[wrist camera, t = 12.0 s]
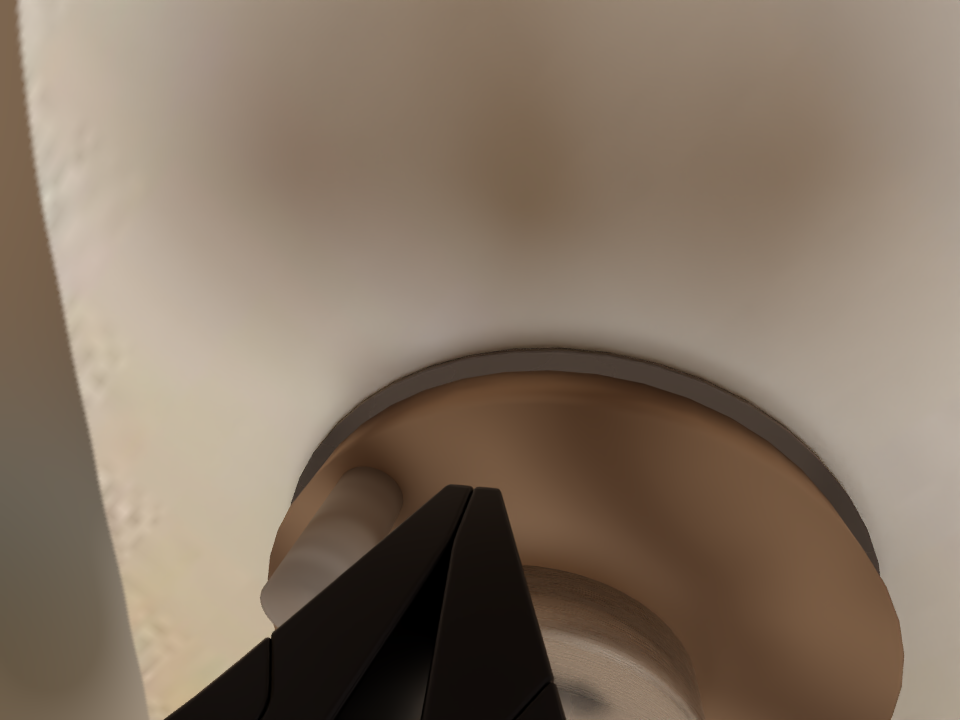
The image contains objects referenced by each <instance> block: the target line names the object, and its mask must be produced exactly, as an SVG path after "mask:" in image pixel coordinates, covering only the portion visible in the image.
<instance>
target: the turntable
mask: <svg viewBox="0 0 960 720" xmlns="http://www.w3.org/2000/svg"><path fill="white" fill-rule="evenodd" d="M449 484H457V485H468V486H471V487H473V489H474V488H476V487H490V488H498V489H500V491H501V493H502V496H503V500H504V503H505V507H506V510H507V514H508V517H509V521H510V524H511V528H512V531H513V535H514V539H515V542H516V546H517V549H518V553H519V556H520V560H521V563H522V565H525V566H538V567H545V568H552V569H558V570H563V571H567V572H571V573H575V574H579V575H582V576H585V577H588V578H591V579H594V580H597V581H599V582H602V583H604V584H606V585H609V586H611V587H613V588H615V589H617V590H619V591H622V592H623V593H625V594H627V595H628V596H630V597H632V598H633V599H635V600H637V601H638V602H640V603H641V604H643V605H644V606H645V607H647V608H648V609H649V610H651V611H652V612H653V613H655V614H656V615H657V616H658V617H659V618H660V619H661V620H662V621H663V622H664V623H666V624H667V625H668V626H669V627H670V628H671V630H672V631H673V632H674V633H675V635H676V636H677V637H678V638H679V640H680V641H681V642H682V644H683V646H684V648H685V649H686V651H687V653H688V655H689V656H690V659H691V662H692V665H693V668H694V670H695V675H696V679H697V684H698V688H699V693H700V697H701V702H702V706H703V711H704V715H705V720H890V719H891V718H892V715H893V712H894V709H895V706H896V703H897V700H898V696H899V693H900V690H901V687H902V675H903V662H904V651H903V644H902V637H901V630H900V623H899V619H898V617H897V614H896V611H895V609H894V606H893V603H892V601H891V598H890V595H889V593H888V590H887V587H886V585H885V584H884V582H883V580H882V579H881V577H880V576H879V574H878V572H877V571H876V569H875V567H874V566H873V564H872V562H871V561H870V559H869V558H868V556H867V554H866V553H865V551H864V550H863V548H862V547H861V545H860V544H859V543H858V541H857V540H856V538H855V537H854V536H853V534H852V533H851V531H850V530H849V528H848V527H847V526H846V524H845V523H844V521H843V520H842V518H841V517H840V516H839V514H838V513H837V511H836V510H835V509H834V507H833V506H832V504H831V503H830V501H829V500H828V499H827V498H826V497H825V495H824V494H823V493H822V492H821V491H820V490H819V488H818V487H817V486H816V485H815V484H814V483H813V482H812V480H811V479H810V478H809V477H808V476H807V475H806V474H805V472H804V471H803V470H802V469H801V468H800V467H798V466H797V465H796V464H795V463H794V462H792V461H791V460H790V459H789V458H788V457H787V456H785V455H784V454H783V453H782V452H781V451H779V450H778V449H777V448H776V447H775V446H773V445H772V444H771V443H770V442H769V441H767V440H765V439H764V438H762V437H761V436H759V435H758V434H756V433H754V432H753V431H751V430H750V429H748V428H746V427H745V426H743V425H742V424H740V423H738V422H737V421H735V420H734V419H732V418H730V417H728V416H726V415H724V414H722V413H720V412H717V411H715V410H713V409H711V408H709V407H707V406H705V405H702V404H700V403H698V402H696V401H694V400H692V399H689V398H687V397H684V396H681V395H678V394H675V393H671V392H668V391H665V390H662V389H659V388H656V387H653V386H650V385H647V384H644V383H639V382H634V381H629V380H624V379H619V378H614V377H609V376H604V375H599V374H590V373H577V372H565V371H552V370H544V371H518V372H502V373H495V374H489V375H483V376H477V377H471V378H464V379H460V380H457V381H453V382H450V383H447V384H443V385H440V386H437V387H433V388H430V389H426V390H424V391H421V392H419V393H417V394H415V395H412V396H410V397H408V398H406V399H404V400H401V401H399V402H397V403H395V404H393V405H391V406H389V407H387V408H386V409H384V410H383V411H381V412H380V413H378V414H377V415H375V416H373V417H372V418H370V419H369V420H367V421H366V422H364V423H363V424H361V425H360V426H359V427H358V428H357V429H356V430H355V431H354V432H353V433H351V434H350V435H349V436H348V437H347V438H346V439H345V440H344V441H342V442H341V443H340V444H339V445H338V447H337V448H336V449H335V450H334V452H333V453H332V454H331V455H330V457H329V458H328V459H327V460H326V462H325V463H324V464H323V466H322V467H321V468H320V469H319V471H318V472H317V473H316V474H315V476H314V477H313V478H312V479H311V481H310V482H309V483H308V484H307V486H306V487H305V488H304V489H303V491H302V492H301V493H300V495H299V496H298V497H297V498H296V500H295V501H294V502H293V503H292V505H291V506H290V508H289V510H288V512H287V514H286V516H285V518H284V520H283V522H282V523H281V525H280V527H279V529H278V532H277V535H276V538H275V542H274V545H273V548H272V552H271V555H270V563H269V573H268V582H267V583H266V585H265V586H264V587H263V589H262V591H261V596H260V600H261V605H262V608H263V610H264V612H265V614H266V615H267V617H268V618H269V619H270V620H271V622H272V623H273V624H274V627H275V630H276V629H277V628H278V627H279V626H281V625H282V624H283V623H284V622H285V621H287V620H288V619H289V618H290V617H291V616H292V615H294V614H295V613H296V612H297V611H298V610H300V609H301V608H302V607H303V606H304V605H305V604H307V603H308V602H309V601H310V600H311V599H313V598H314V597H315V596H316V595H317V594H318V593H320V592H321V591H322V590H323V589H324V588H326V587H327V586H328V585H329V584H330V583H331V582H333V581H334V580H335V579H336V578H337V577H339V576H340V575H341V574H342V573H343V572H344V571H346V570H347V569H348V568H349V567H350V566H352V565H353V564H354V563H355V562H356V561H358V560H359V559H360V558H361V557H362V556H363V555H365V554H366V553H367V552H368V551H369V550H371V549H372V548H373V547H374V546H375V545H376V544H378V543H379V542H380V541H381V540H382V539H384V538H385V537H386V536H387V535H388V534H389V533H391V532H392V531H393V530H394V529H395V528H397V527H398V526H399V525H400V524H401V523H402V522H404V521H405V520H406V519H407V518H408V517H410V516H411V515H412V514H413V513H414V512H415V511H417V510H418V509H419V508H420V507H421V506H423V505H424V504H425V503H426V502H427V501H428V500H430V499H431V498H432V497H433V496H434V495H436V494H437V493H438V492H439V491H440V490H442V489H443V488H444V487H445V486H447V485H449Z"/></svg>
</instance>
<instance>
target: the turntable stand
mask: <svg viewBox="0 0 960 720" xmlns="http://www.w3.org/2000/svg"><path fill="white" fill-rule="evenodd" d="M544 370H552V371H565V372H577V373H590V374H599V375H604V376H609V377H614V378H619V379H624V380H629V381H634V382H639V383H644V384H647V385H650V386H653V387H656V388H659V389H662V390H665V391H668V392H671V393H675V394H678V395H681V396H684V397H687V398H689V399H692V400H694V401H696V402H698V403H700V404H702V405H705V406H707V407H709V408H711V409H713V410H715V411H717V412H720V413H722V414H724V415H726V416H728V417H730V418H732V419H734V420H735V421H737V422H738V423H740V424H742V425H743V426H745V427H746V428H748V429H750V430H751V431H753V432H754V433H756V434H758V435H759V436H761V437H762V438H764V439H765V440H767V441H769V442H770V443H771V444H772V445H773V446H775V447H776V448H777V449H778V450H779V451H781V452H782V453H783V454H784V455H785V456H787V457H788V458H789V459H790V460H791V461H792V462H794V463H795V464H796V465H797V466H798V467H800V468H801V469H802V470H803V471H804V472H805V474H806V475H807V476H808V477H809V478H810V479H811V480H812V482H813V483H814V484H815V485H816V486H817V487H818V488H819V490H820V491H821V492H822V493H823V494H824V495H825V497H826V498H827V499H828V500H829V501H830V503H831V504H832V506H833V507H834V509H835V510H836V511H837V513H838V514H839V516H840V517H841V518H842V520H843V521H844V523H845V524H846V526H847V527H848V528H849V530H850V531H851V533H852V534H853V536H854V537H855V538H856V540H857V541H858V543H859V544H860V545H861V547H862V548H863V550H864V551H865V553H866V554H867V556H868V558H869V559H870V561H871V562H872V564H873V566H874V567H875V569H876V571H877V572H878V574H879V576H880V572H879V563H878V560H877V557H876V554H875V551H874V548H873V545H872V542H871V539H870V536H869V533H868V530H867V528H866V526H865V524H864V522H863V521H862V519H861V517H860V515H859V513H858V512H857V510H856V508H855V506H854V504H853V503H852V501H851V499H850V497H849V496H848V494H847V493H846V492H845V490H844V489H843V488H842V487H841V485H840V484H839V483H838V482H837V480H836V479H835V478H834V477H833V475H832V474H831V473H830V472H829V470H828V469H827V468H826V467H825V465H824V464H823V463H822V462H821V460H820V459H819V458H818V457H817V456H816V455H815V454H814V453H813V452H812V451H811V450H810V449H809V448H808V447H807V446H805V445H804V444H803V443H802V442H801V441H800V440H799V439H798V438H797V437H795V436H794V435H793V434H792V433H791V432H790V431H789V430H788V429H787V428H786V427H784V426H783V425H782V424H780V423H779V422H777V421H776V420H774V419H773V418H771V417H770V416H768V415H767V414H765V413H764V412H762V411H761V410H759V409H758V408H756V407H755V406H753V405H752V404H750V403H749V402H747V401H746V400H744V399H742V398H740V397H738V396H736V395H734V394H732V393H730V392H728V391H726V390H724V389H722V388H720V387H718V386H716V385H714V384H712V383H710V382H708V381H706V380H704V379H701V378H698V377H695V376H692V375H690V374H687V373H684V372H681V371H678V370H675V369H672V368H669V367H667V366H664V365H661V364H658V363H654V362H650V361H645V360H641V359H636V358H631V357H627V356H622V355H618V354H613V353H608V352H598V351H588V350H578V349H567V348H531V349H509V350H502V351H496V352H489V353H482V354H475V355H469V356H465V357H462V358H458V359H455V360H451V361H448V362H444V363H441V364H437V365H434V366H430V367H427V368H425V369H423V370H421V371H418V372H416V373H414V374H411V375H409V376H407V377H405V378H402V379H400V380H398V381H395V382H393V383H392V384H390V385H388V386H387V387H385V388H384V389H382V390H380V391H379V392H377V393H376V394H374V395H372V396H371V397H369V398H368V399H366V400H364V401H363V402H362V403H361V404H360V405H358V406H357V407H356V408H355V409H354V410H353V411H351V412H350V413H349V414H348V415H347V416H346V417H345V418H343V419H342V420H341V421H340V422H339V423H338V424H337V425H336V426H335V427H334V429H333V430H332V431H331V432H330V434H329V435H328V436H327V437H326V438H325V440H324V441H323V442H322V443H321V444H320V446H319V447H318V448H317V449H316V451H315V452H314V453H313V455H312V457H311V459H310V460H309V462H308V464H307V466H306V467H305V469H304V471H303V473H302V475H301V476H300V478H299V481H298V484H297V487H296V490H295V493H294V496H293V499H292V502H291V505H292V503H293V502H294V501H295V500H296V498H297V497H298V496H299V495H300V493H301V492H302V491H303V489H304V488H305V487H306V486H307V484H308V483H309V482H310V481H311V479H312V478H313V477H314V476H315V474H316V473H317V472H318V471H319V469H320V468H321V467H322V466H323V464H324V463H325V462H326V460H327V459H328V458H329V457H330V455H331V454H332V453H333V452H334V450H335V449H336V448H337V447H338V445H339V444H340V443H341V442H342V441H344V440H345V439H346V438H347V437H348V436H349V435H350V434H351V433H353V432H354V431H355V430H356V429H357V428H358V427H359V426H360V425H361V424H363V423H364V422H366V421H367V420H369V419H370V418H372V417H373V416H375V415H377V414H378V413H380V412H381V411H383V410H384V409H386V408H387V407H389V406H391V405H393V404H395V403H397V402H399V401H401V400H404V399H406V398H408V397H410V396H412V395H415V394H417V393H419V392H421V391H424V390H426V389H430V388H433V387H437V386H440V385H443V384H447V383H450V382H453V381H457V380H460V379H464V378H471V377H477V376H483V375H489V374H495V373H502V372H518V371H544Z"/></svg>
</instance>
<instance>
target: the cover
mask: <svg viewBox="0 0 960 720" xmlns="http://www.w3.org/2000/svg"><path fill="white" fill-rule="evenodd" d="M522 567H523V570H524V574H525V577H526V581H527V584H528V588H529V591H530V595H531V598H532V602H533V605H534V609H535V612H536V616H537V619H538V623H539V626H540V630H541V633H542V637H543V641H544V644H545V648H546V651H547V655H548V658H549V662H550V665H551V669H552V672H553V676H554V683H555V684H556V686H557V689H558V692H559V696H560V699H561V703H562V706H563V710H564V713H565V717H566V720H705V715H704V711H703V706H702V702H701V697H700V693H699V688H698V684H697V679H696V675H695V670H694V668H693V665H692V662H691V659H690V656H689V655H688V653H687V651H686V649H685V648H684V646H683V644H682V642H681V641H680V640H679V638H678V637H677V636H676V635H675V633H674V632H673V631H672V630H671V628H670V627H669V626H668V625H667V624H666V623H664V622H663V621H662V620H661V619H660V618H659V617H658V616H657V615H656V614H655V613H653V612H652V611H651V610H649V609H648V608H647V607H645V606H644V605H643V604H641V603H640V602H638V601H637V600H635V599H633V598H632V597H630V596H628V595H627V594H625V593H623V592H622V591H619V590H617V589H615V588H613V587H611V586H609V585H606V584H604V583H602V582H599V581H597V580H594V579H591V578H588V577H585V576H582V575H579V574H575V573H571V572H567V571H563V570H558V569H552V568H545V567H538V566H525V565H522Z"/></svg>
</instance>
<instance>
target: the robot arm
mask: <svg viewBox="0 0 960 720" xmlns="http://www.w3.org/2000/svg"><path fill="white" fill-rule="evenodd" d="M164 720H566V717H565V713H564V710H563V706H562V703H561V699H560V696H559V692H558V689H557V686H556V684H555V683H554V676H553V672H552V669H551V665H550V662H549V658H548V655H547V651H546V648H545V644H544V641H543V637H542V633H541V630H540V626H539V623H538V619H537V616H536V612H535V609H534V605H533V602H532V598H531V595H530V591H529V588H528V584H527V581H526V577H525V574H524V570H523V567H522V563H521V560H520V556H519V553H518V549H517V546H516V542H515V539H514V535H513V531H512V528H511V524H510V521H509V517H508V514H507V510H506V507H505V503H504V500H503V496H502V493H501V491H500V489H498V488H490V487H476V488H474V489H473V487H471V486H468V485H457V484H449V485H447V486H445V487H444V488H443V489H442V490H440V491H439V492H438V493H437V494H436V495H434V496H433V497H432V498H431V499H430V500H428V501H427V502H426V503H425V504H424V505H423V506H421V507H420V508H419V509H418V510H417V511H415V512H414V513H413V514H412V515H411V516H410V517H408V518H407V519H406V520H405V521H404V522H402V523H401V524H400V525H399V526H398V527H397V528H395V529H394V530H393V531H392V532H391V533H389V534H388V535H387V536H386V537H385V538H384V539H382V540H381V541H380V542H379V543H378V544H376V545H375V546H374V547H373V548H372V549H371V550H369V551H368V552H367V553H366V554H365V555H363V556H362V557H361V558H360V559H359V560H358V561H356V562H355V563H354V564H353V565H352V566H350V567H349V568H348V569H347V570H346V571H344V572H343V573H342V574H341V575H340V576H339V577H337V578H336V579H335V580H334V581H333V582H331V583H330V584H329V585H328V586H327V587H326V588H324V589H323V590H322V591H321V592H320V593H318V594H317V595H316V596H315V597H314V598H313V599H311V600H310V601H309V602H308V603H307V604H305V605H304V606H303V607H302V608H301V609H300V610H298V611H297V612H296V613H295V614H294V615H292V616H291V617H290V618H289V619H288V620H287V621H285V622H284V623H283V624H282V625H281V626H279V627H278V628H277V629H276V630H275V631H274V632H273V633H272V635H271V639H270V638H268V637H267V638H265V639H264V640H263V641H261V642H260V643H259V644H258V645H257V646H255V647H254V648H253V649H252V650H251V651H249V652H248V653H247V654H246V655H245V656H244V657H242V658H241V659H240V660H239V661H238V662H236V663H235V664H234V665H233V666H231V667H230V668H229V669H228V670H226V671H225V672H224V673H223V674H222V675H220V676H219V677H218V678H217V679H215V680H214V681H213V682H212V683H210V684H209V685H208V686H207V687H206V688H204V689H203V690H202V691H201V692H199V693H198V694H197V695H196V696H194V697H193V698H192V699H190V700H189V701H188V702H186V703H185V704H184V705H182V706H181V707H180V708H178V709H177V710H176V711H174V712H173V713H172V714H170V715H169V716H168V717H166V718H165V719H164Z"/></svg>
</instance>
